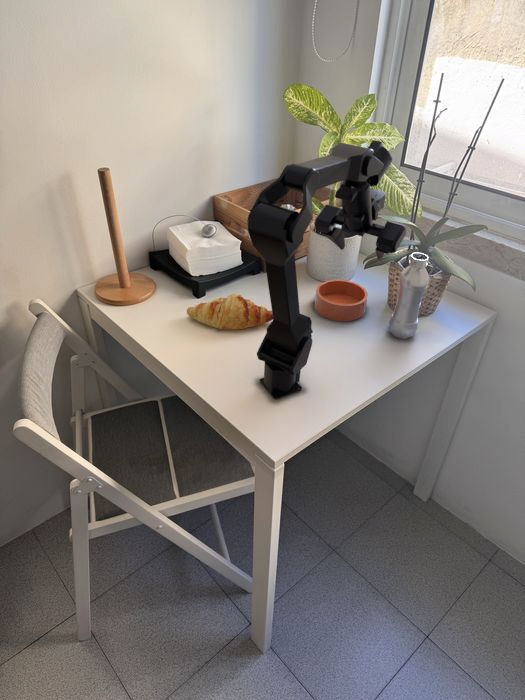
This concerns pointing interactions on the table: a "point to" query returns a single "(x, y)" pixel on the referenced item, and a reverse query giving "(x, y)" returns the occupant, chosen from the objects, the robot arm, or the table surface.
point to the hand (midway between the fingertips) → (361, 254)
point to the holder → (340, 300)
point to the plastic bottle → (410, 297)
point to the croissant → (230, 313)
